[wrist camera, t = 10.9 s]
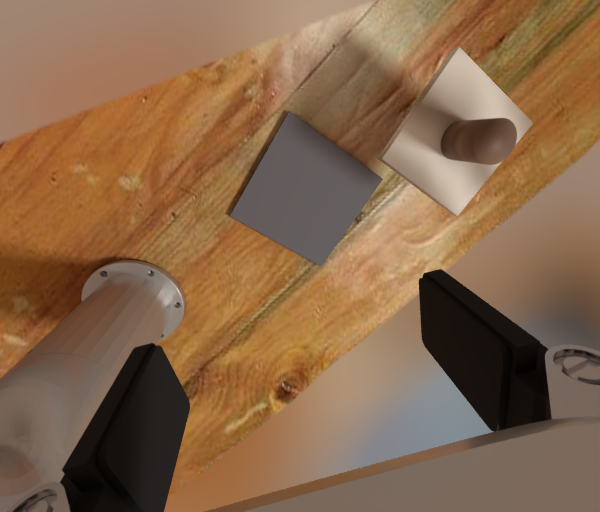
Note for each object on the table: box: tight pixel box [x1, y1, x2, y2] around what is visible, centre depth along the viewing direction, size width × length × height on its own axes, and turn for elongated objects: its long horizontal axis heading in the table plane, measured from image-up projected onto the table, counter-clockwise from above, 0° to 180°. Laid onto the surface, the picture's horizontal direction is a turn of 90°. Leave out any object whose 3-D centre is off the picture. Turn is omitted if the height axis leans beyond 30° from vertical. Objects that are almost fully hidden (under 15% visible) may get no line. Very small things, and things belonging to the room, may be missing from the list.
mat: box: [230, 111, 383, 266], centre depth 37 cm, size 14×14×1 cm
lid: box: [378, 47, 533, 216], centre depth 27 cm, size 11×11×6 cm
